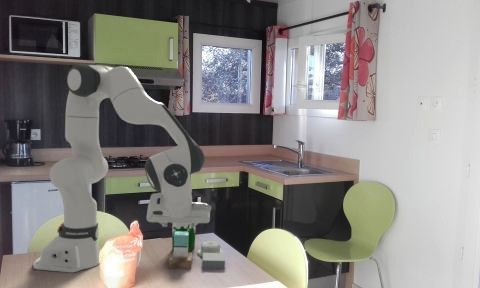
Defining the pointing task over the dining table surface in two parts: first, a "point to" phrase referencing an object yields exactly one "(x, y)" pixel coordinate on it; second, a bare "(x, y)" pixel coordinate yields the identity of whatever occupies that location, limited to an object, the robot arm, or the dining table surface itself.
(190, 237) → the milk carton
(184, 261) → the walnut stand
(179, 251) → the block
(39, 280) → the dining table surface
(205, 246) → the mechanical component
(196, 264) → the dining table surface
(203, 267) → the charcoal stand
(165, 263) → the dining table surface
